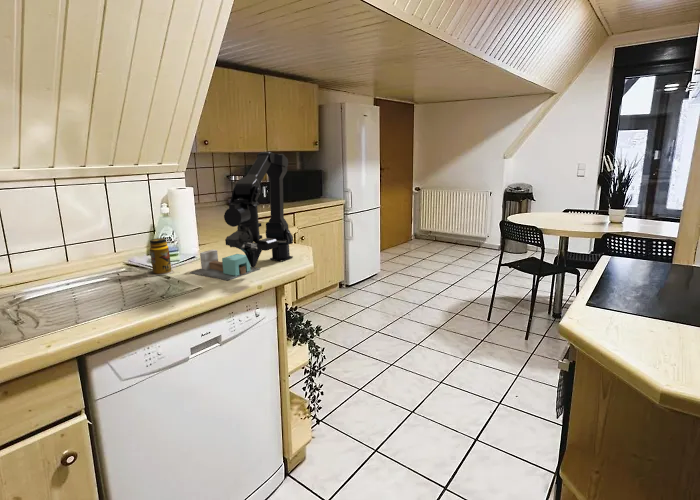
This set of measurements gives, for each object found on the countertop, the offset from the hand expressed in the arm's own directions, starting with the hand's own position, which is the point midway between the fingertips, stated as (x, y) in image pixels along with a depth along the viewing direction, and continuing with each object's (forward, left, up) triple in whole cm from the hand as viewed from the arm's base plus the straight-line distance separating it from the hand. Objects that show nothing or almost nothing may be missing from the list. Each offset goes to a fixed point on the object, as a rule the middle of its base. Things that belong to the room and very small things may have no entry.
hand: (253, 267), depth 135 cm
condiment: (+12, -34, -4) cm, 36 cm away
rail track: (0, -14, -3) cm, 14 cm away
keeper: (0, -8, -3) cm, 9 cm away
